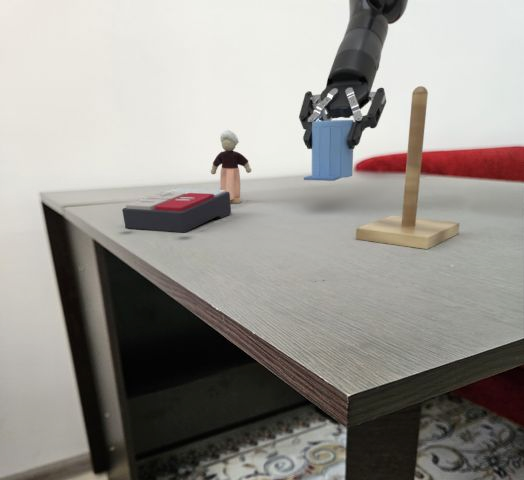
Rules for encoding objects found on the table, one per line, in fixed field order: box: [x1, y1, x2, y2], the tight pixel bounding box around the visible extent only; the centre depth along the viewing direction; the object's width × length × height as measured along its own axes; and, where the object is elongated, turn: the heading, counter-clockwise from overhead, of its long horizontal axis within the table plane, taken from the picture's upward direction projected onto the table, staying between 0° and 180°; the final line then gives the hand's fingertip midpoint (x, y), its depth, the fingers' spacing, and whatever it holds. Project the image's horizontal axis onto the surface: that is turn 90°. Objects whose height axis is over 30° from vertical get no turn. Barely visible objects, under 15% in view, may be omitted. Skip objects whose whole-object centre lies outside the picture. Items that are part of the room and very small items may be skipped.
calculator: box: [121, 187, 232, 233], centre depth 83 cm, size 11×4×15 cm
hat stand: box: [355, 85, 461, 250], centre depth 66 cm, size 10×10×18 cm
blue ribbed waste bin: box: [303, 119, 355, 182], centre depth 85 cm, size 9×7×8 cm
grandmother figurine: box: [210, 129, 252, 204], centre depth 97 cm, size 8×4×13 cm, turn 90°
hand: (329, 145), depth 84 cm, fingers closed on blue ribbed waste bin, 6 cm apart
